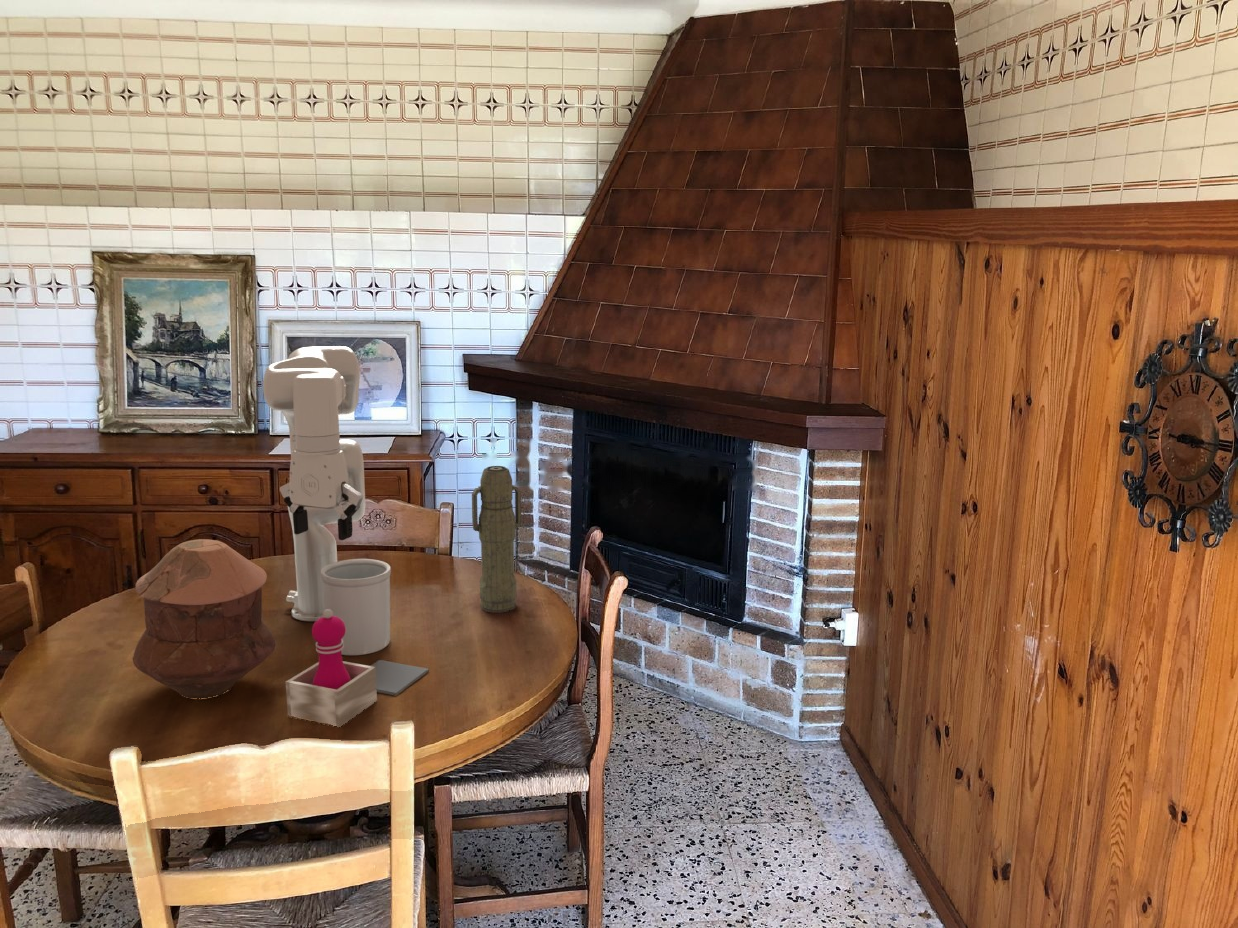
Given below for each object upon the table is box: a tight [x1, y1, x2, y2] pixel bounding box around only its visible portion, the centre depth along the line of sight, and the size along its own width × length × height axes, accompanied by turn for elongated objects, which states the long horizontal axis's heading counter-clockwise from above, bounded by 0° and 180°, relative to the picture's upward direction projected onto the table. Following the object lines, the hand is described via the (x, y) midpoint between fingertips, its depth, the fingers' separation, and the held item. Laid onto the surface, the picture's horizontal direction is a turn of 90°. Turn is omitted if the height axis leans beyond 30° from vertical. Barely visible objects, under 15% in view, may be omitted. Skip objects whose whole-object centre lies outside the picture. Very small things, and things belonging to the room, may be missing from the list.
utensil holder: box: [321, 558, 392, 656], centre depth 209 cm, size 15×15×18 cm
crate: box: [285, 660, 378, 728], centre depth 179 cm, size 12×12×7 cm
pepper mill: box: [311, 609, 351, 690], centre depth 178 cm, size 7×7×20 cm
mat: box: [370, 659, 429, 696], centre depth 193 cm, size 12×12×1 cm
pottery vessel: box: [132, 538, 276, 699], centre depth 184 cm, size 26×26×30 cm
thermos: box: [471, 465, 522, 614], centre depth 230 cm, size 9×12×35 cm
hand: (323, 535), depth 173 cm, fingers open, 9 cm apart
